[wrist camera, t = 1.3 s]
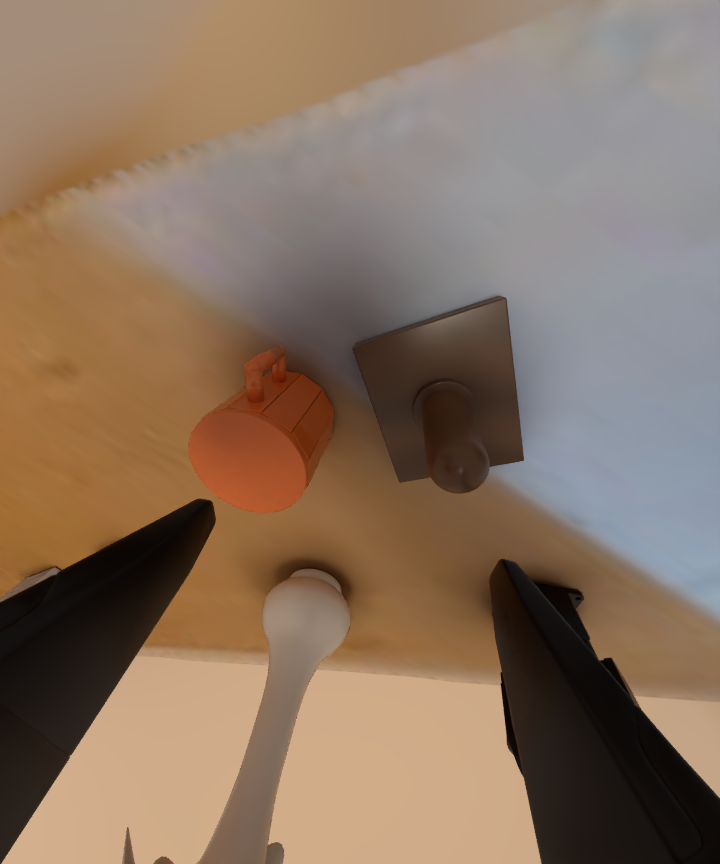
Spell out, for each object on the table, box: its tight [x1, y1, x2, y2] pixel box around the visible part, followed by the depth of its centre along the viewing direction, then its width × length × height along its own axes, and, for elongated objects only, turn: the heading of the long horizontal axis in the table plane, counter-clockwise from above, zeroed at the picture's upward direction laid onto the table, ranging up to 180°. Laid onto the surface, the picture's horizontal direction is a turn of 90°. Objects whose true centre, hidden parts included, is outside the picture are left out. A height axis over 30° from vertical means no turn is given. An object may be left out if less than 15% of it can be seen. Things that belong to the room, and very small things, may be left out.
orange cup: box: [188, 345, 334, 513], centre depth 19 cm, size 9×7×7 cm
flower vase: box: [122, 568, 351, 864], centre depth 22 cm, size 13×18×25 cm
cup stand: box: [353, 296, 524, 494], centre depth 16 cm, size 11×9×9 cm
